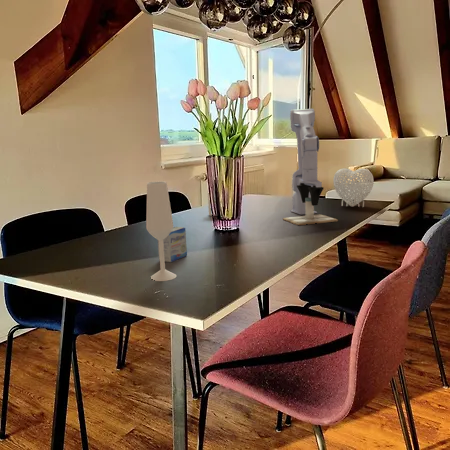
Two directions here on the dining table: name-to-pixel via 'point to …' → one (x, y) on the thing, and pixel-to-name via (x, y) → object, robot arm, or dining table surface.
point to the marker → (309, 209)
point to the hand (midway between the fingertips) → (309, 203)
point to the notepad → (303, 221)
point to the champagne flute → (159, 222)
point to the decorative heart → (353, 185)
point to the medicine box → (175, 245)
